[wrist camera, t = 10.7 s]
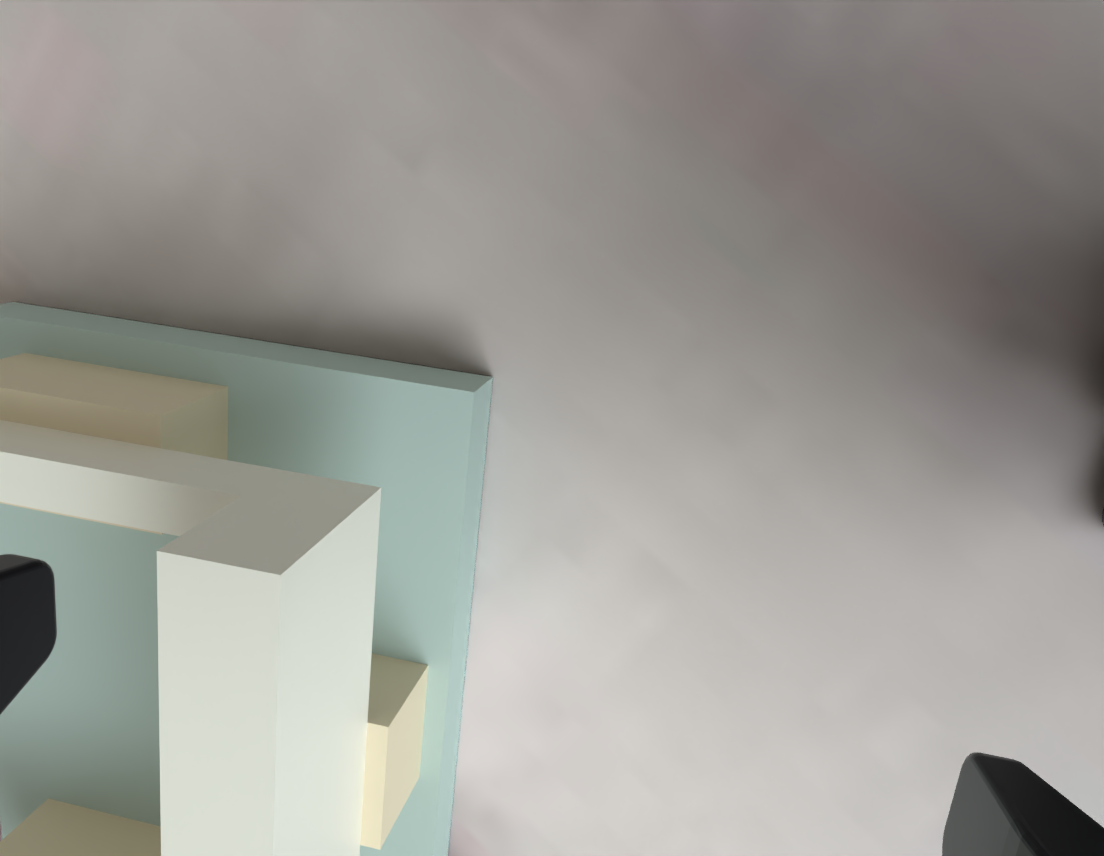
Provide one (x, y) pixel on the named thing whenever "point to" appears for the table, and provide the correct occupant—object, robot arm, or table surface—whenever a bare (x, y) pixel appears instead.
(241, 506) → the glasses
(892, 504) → the table surface
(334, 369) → the display stand
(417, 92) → the table surface
